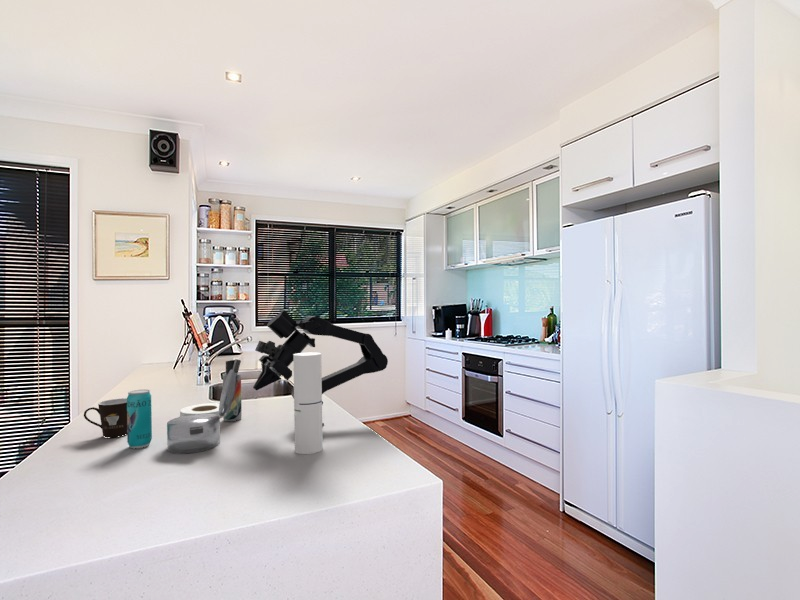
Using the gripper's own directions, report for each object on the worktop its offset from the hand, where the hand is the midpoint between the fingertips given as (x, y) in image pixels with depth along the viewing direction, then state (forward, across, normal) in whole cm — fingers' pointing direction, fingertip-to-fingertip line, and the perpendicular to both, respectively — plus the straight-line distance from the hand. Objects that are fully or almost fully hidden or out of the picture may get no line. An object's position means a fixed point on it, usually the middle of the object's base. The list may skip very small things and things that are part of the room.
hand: (254, 389), depth 127 cm
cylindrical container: (+3, +20, +17) cm, 26 cm away
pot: (+21, 0, -2) cm, 21 cm away
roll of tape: (+17, -35, +3) cm, 39 cm away
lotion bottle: (+12, -23, +8) cm, 27 cm away
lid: (+4, 0, -6) cm, 8 cm away
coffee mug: (+36, -24, -16) cm, 46 cm away
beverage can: (+30, -8, -11) cm, 33 cm away
